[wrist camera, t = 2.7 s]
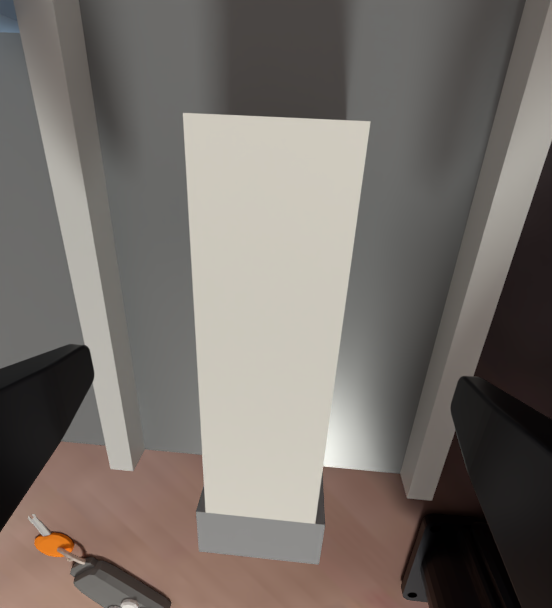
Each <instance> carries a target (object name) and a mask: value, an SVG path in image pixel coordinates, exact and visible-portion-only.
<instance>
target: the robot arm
mask: <svg viewBox="0 0 552 608" xmlns="http://www.w3.org/2000/svg"><path fill="white" fill-rule="evenodd" d="M93 380H94V368H93V363H92V358H91V353H90V349H89V348H88V346H86V345H80V344H68V345H65V346H62V347H59V348H57V349H54V350H51V351H48V352H46V353H43V354H40V355H37V356H34V357H32V358H29V359H26V360H23V361H20V362H18V363H15V364H12V365H9V366H6V367H4V368H1V369H0V532H1V530H2V529H3V527H4V526H5V524H6V523H7V521H8V520H9V518H10V517H11V515H12V514H13V512H14V511H15V509H16V508H17V506H18V505H19V503H20V502H21V500H22V499H23V497H24V496H25V494H26V493H27V491H28V490H29V488H30V487H31V485H32V484H33V482H34V481H35V479H36V478H37V476H38V475H39V473H40V472H41V470H42V469H43V467H44V466H45V464H46V463H47V461H48V460H49V458H50V457H51V455H52V454H53V452H54V451H55V449H56V448H57V446H58V445H59V443H60V442H61V440H62V439H63V437H64V435H65V434H66V432H67V430H68V428H69V427H70V425H71V423H72V421H73V419H74V417H75V415H76V413H77V412H78V410H79V408H80V406H81V404H82V402H83V400H84V398H85V396H86V395H87V393H88V391H89V389H90V387H91V385H92V383H93ZM450 410H451V416H452V419H453V423H454V426H455V430H456V433H457V437H458V441H459V444H460V448H461V451H462V455H463V458H464V462H465V465H466V469H467V472H468V475H469V477H470V480H471V483H472V485H473V488H474V490H475V493H476V495H477V498H478V500H479V503H480V505H481V508H482V510H483V513H484V515H485V518H486V519H482V518H472V517H462V516H452V515H442V514H430V515H427V516H425V517H424V519H423V520H422V523H421V527H420V530H419V533H418V536H417V539H416V542H415V545H414V548H413V551H412V554H411V557H410V560H409V563H408V566H407V569H406V572H405V575H404V578H403V582H402V585H401V589H402V594H403V597H404V598H405V599H407V600H412V601H421V602H428V605H429V608H552V420H551V419H550V418H548V417H546V416H545V415H543V414H541V413H540V412H538V411H536V410H535V409H533V408H531V407H529V406H528V405H526V404H524V403H523V402H521V401H519V400H518V399H516V398H514V397H513V396H511V395H509V394H508V393H506V392H504V391H503V390H501V389H499V388H497V387H496V386H494V385H492V384H491V383H489V382H487V381H486V380H484V379H482V378H480V377H474V376H462V377H460V378H459V380H458V382H457V385H456V388H455V392H454V395H453V398H452V401H451V407H450Z"/></svg>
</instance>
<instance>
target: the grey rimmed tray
mask: <svg viewBox="0 0 552 608" xmlns="http://www.w3.org/2000/svg"><path fill="white" fill-rule="evenodd" d="M183 113H198V114H220V115H242V116H264V117H286V118H308V119H330V120H352V121H371V122H370V129H369V137H368V144H367V151H366V158H365V166H364V173H363V180H362V187H361V195H360V202H359V209H358V216H357V224H356V231H355V238H354V246H353V253H352V260H351V267H350V275H349V282H348V289H347V296H346V304H345V311H344V318H343V325H342V333H341V340H340V347H339V354H338V362H337V369H336V376H335V384H334V391H333V398H332V405H331V413H330V420H329V427H328V434H327V442H326V449H325V456H324V463H323V466H326V467H336V468H347V469H357V470H367V471H378V472H388V473H399V474H400V475H401V478H402V482H403V486H404V489H405V493H406V496H407V498H409V499H419V500H429V501H432V499H433V496H434V493H435V490H436V487H437V484H438V481H439V478H440V475H441V472H442V469H443V466H444V463H445V460H446V457H447V454H448V451H449V448H450V445H451V442H452V439H453V436H454V433H455V426H454V423H453V419H452V416H451V410H450V407H451V401H452V398H453V395H454V392H455V388H456V385H457V382H458V380H459V378H460V377H462V376H474V373H475V370H476V367H477V364H478V361H479V358H480V355H481V352H482V349H483V346H484V343H485V340H486V337H487V334H488V331H489V328H490V325H491V322H492V319H493V316H494V313H495V310H496V307H497V304H498V301H499V298H500V295H501V292H502V289H503V285H504V282H505V279H506V276H507V273H508V270H509V267H510V264H511V261H512V258H513V255H514V252H515V249H516V246H517V243H518V240H519V237H520V234H521V231H522V228H523V225H524V222H525V219H526V216H527V213H528V210H529V207H530V204H531V201H532V198H533V195H534V192H535V189H536V186H537V183H538V180H539V177H540V174H541V171H542V168H543V165H544V162H545V159H546V156H547V153H548V150H549V147H550V144H551V141H552V0H0V369H1V368H4V367H6V366H9V365H12V364H15V363H18V362H20V361H23V360H26V359H29V358H32V357H34V356H37V355H40V354H43V353H46V352H48V351H51V350H54V349H57V348H59V347H62V346H65V345H68V344H80V345H86V346H88V348H89V349H90V353H91V358H92V363H93V368H94V380H93V383H92V385H91V387H90V389H89V391H88V393H87V395H86V396H85V398H84V400H83V402H82V404H81V406H80V408H79V410H78V412H77V413H76V415H75V417H74V419H73V421H72V423H71V425H70V427H69V428H68V430H67V432H66V434H65V435H64V437H63V439H62V440H61V441H64V442H75V443H85V444H95V445H106V449H107V454H108V459H109V464H110V469H116V470H126V471H134V469H135V467H136V465H137V463H138V461H139V459H140V457H141V456H142V454H143V452H144V450H145V449H148V450H158V451H169V452H179V453H190V454H200V455H202V441H201V423H200V406H199V388H198V370H197V353H196V335H195V318H194V300H193V283H192V265H191V248H190V230H189V213H188V195H187V178H186V160H185V143H184V125H183Z"/></svg>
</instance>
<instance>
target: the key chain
mask: <svg viewBox="0 0 552 608" xmlns="http://www.w3.org/2000/svg"><path fill="white" fill-rule="evenodd" d="M32 516H33V517H34V519H31V518H30V517H28V519H29V521H30V522H31V523H33V524H34V526H35V527H36V528H37V529H38V531H39V532H40V533H41V534H42V535H39V536H38V537H37V538H36V539H35V543H34V544H35V546H36V548H37V549H38V550H39V551H40V552H42V553H44V554H46V555H48V556H53V557H63V556H65V557H67V558H69V559H66V560H68V561H75V562H77V563H75V564H74V565H73V567H72V569H71V573H70V574H71V575H72V576H74V577H75V578H74V585H75V586H76V587H77V588H78V589H79V590H80V591H81V592H82V593H83V594H85V595H86V596H88V597H89V598H91V599H92V600H93V601H95V602H96V603H98V604H99V605H101V606H102V607H104V608H170V606H171V602H170V601H169V600H167V599H166V598H165V597H164V596H162V595H161V594H159V593H157V592H156V591H154V590H153V589H151V588H149V587H148V586H146V585H145V584H143V583H141V582H140V581H138V580H136V579H135V578H133V577H132V576H130V575H128V574H127V573H125V572H123V571H122V570H120V569H119V568H117V567H115V566H114V565H111V564H109V563H107V562H105V561H98V560H96V559H95V558H93V557H86V558H80V557H78V556H76V555H74V554H72V553H71V552H72V550H73V548H74V543H73V541H72V540H71V539H70V538H69V537H68V536H66V535H64V534H61V533H54V532H53V533H51V532H50V530H49V529H48V528H47V527H46V526H45V525H44V524H43V523H42V522H41V521H39V520H38V518H37V517H36V515H35V514H32Z"/></svg>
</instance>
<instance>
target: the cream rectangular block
mask: <svg viewBox="0 0 552 608" xmlns="http://www.w3.org/2000/svg"><path fill="white" fill-rule="evenodd" d="M370 122H371V121H352V120H330V119H308V118H286V117H264V116H242V115H220V114H198V113H183V125H184V143H185V160H186V178H187V195H188V213H189V230H190V248H191V265H192V283H193V300H194V318H195V335H196V353H197V370H198V388H199V406H200V423H201V441H202V458H203V476H204V487H203V490H202V493H201V497H200V500H199V504H198V507H197V510H196V517H197V530H198V544H199V551H201V552H210V553H219V554H228V555H237V556H246V557H255V558H264V559H273V560H282V561H292V562H301V563H310V564H319V560H320V554H321V548H322V541H323V535H324V528H325V514H324V493H323V472H322V471H323V463H324V456H325V449H326V442H327V434H328V427H329V420H330V413H331V405H332V398H333V391H334V384H335V376H336V369H337V362H338V354H339V347H340V340H341V333H342V325H343V318H344V311H345V304H346V296H347V289H348V282H349V275H350V267H351V260H352V253H353V246H354V238H355V231H356V224H357V216H358V209H359V202H360V195H361V187H362V180H363V173H364V166H365V158H366V151H367V144H368V137H369V129H370Z"/></svg>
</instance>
